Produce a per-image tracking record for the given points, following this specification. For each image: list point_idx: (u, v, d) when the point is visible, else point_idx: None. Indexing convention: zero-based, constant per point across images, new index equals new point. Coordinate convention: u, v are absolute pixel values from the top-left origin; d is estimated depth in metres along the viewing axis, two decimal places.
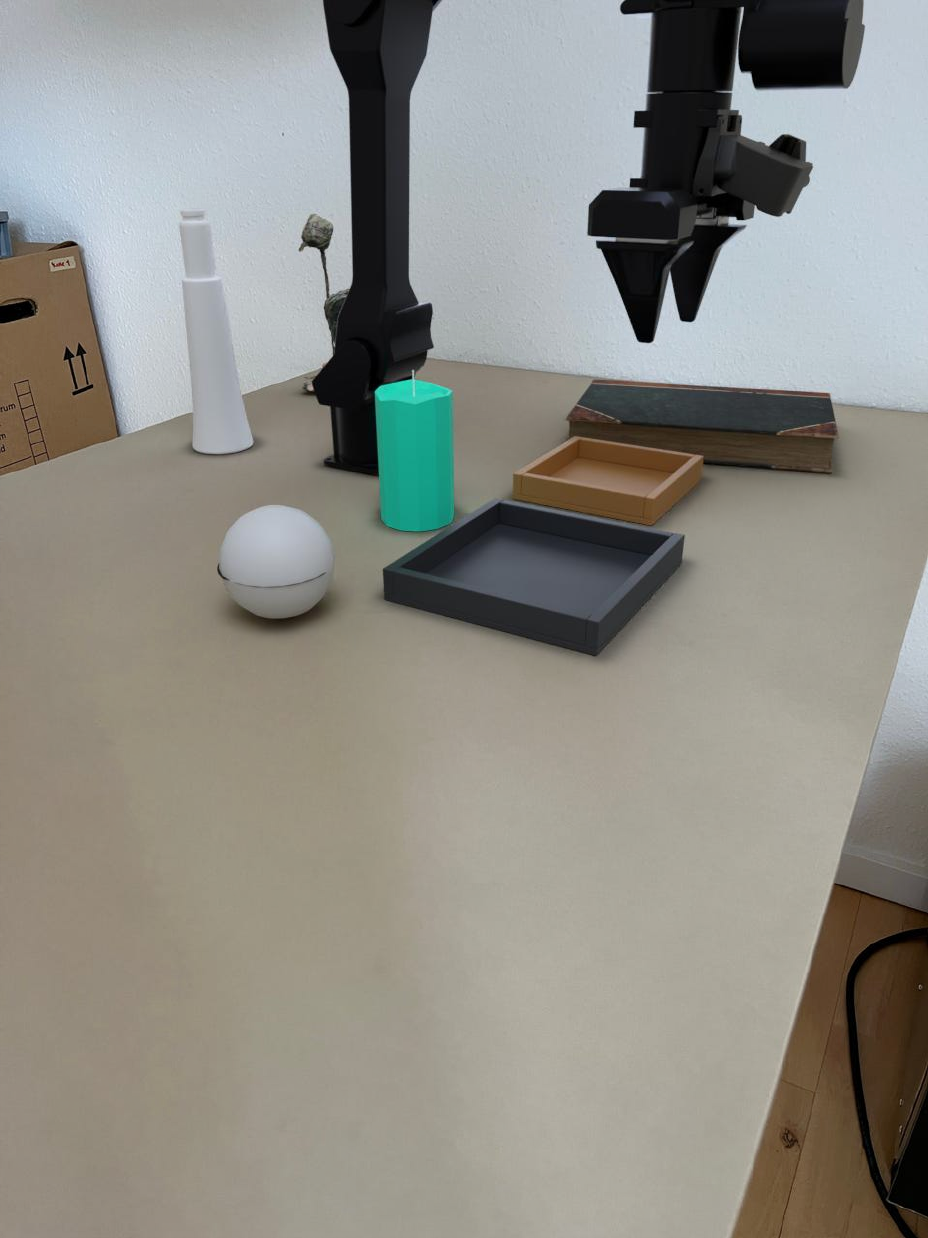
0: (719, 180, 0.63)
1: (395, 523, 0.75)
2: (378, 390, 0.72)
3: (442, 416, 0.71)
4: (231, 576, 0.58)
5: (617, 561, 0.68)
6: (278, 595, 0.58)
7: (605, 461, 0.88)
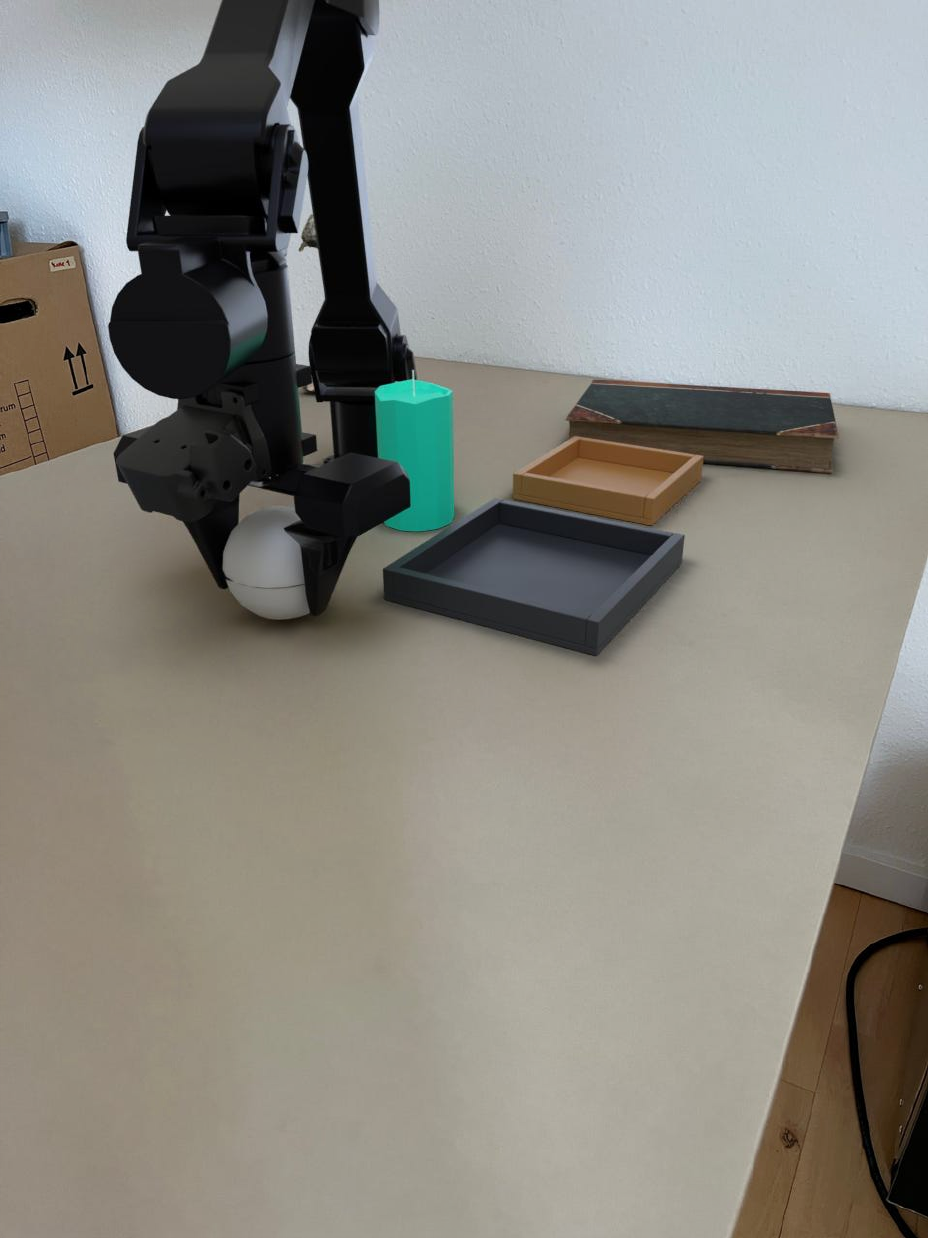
0: None
1: (395, 523, 0.75)
2: (378, 390, 0.72)
3: (442, 416, 0.71)
4: (235, 577, 0.58)
5: (617, 561, 0.68)
6: (282, 596, 0.57)
7: (605, 461, 0.88)
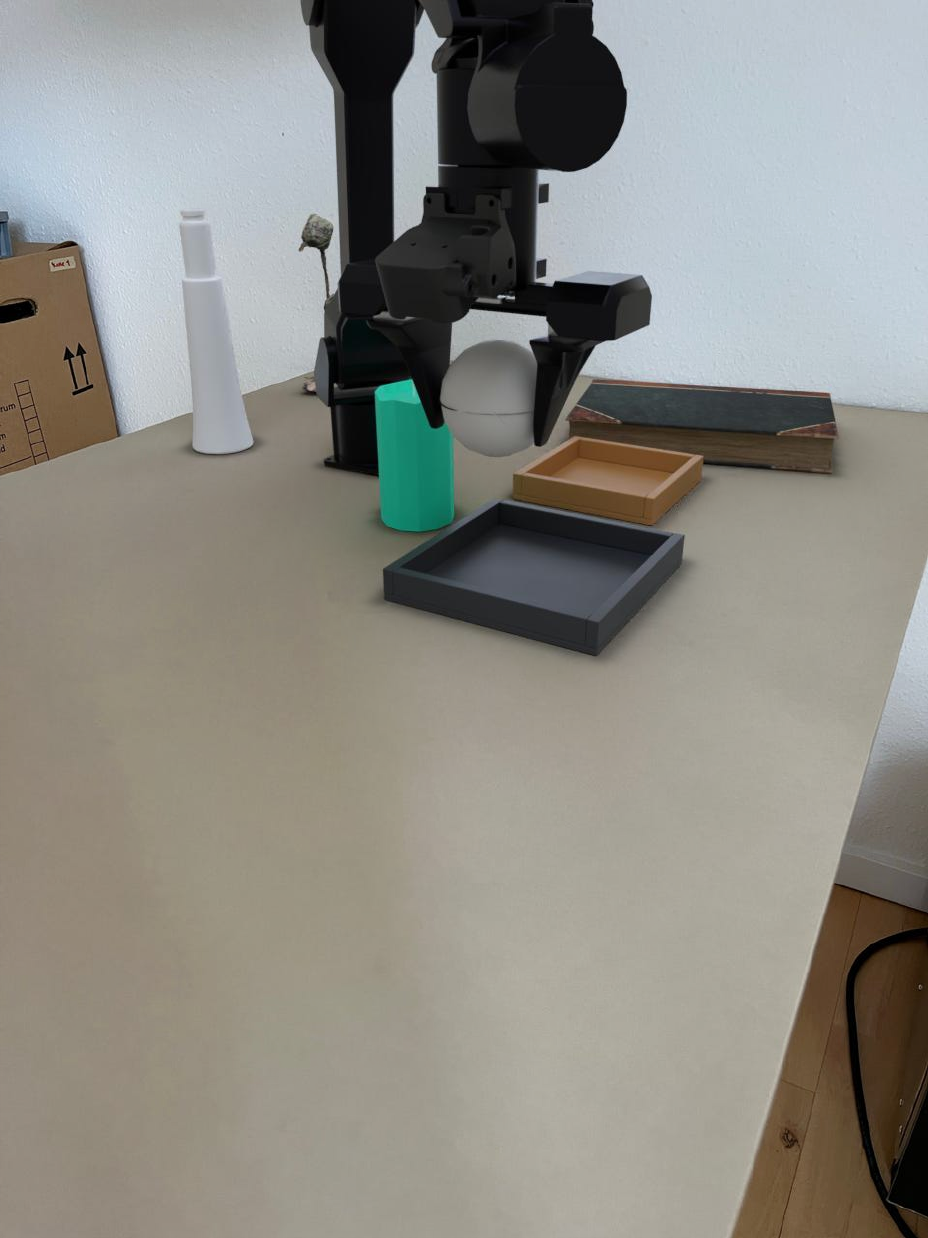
0: None
1: (395, 523, 0.75)
2: (378, 390, 0.72)
3: None
4: (460, 405, 0.57)
5: (617, 561, 0.68)
6: (508, 424, 0.57)
7: (605, 461, 0.88)
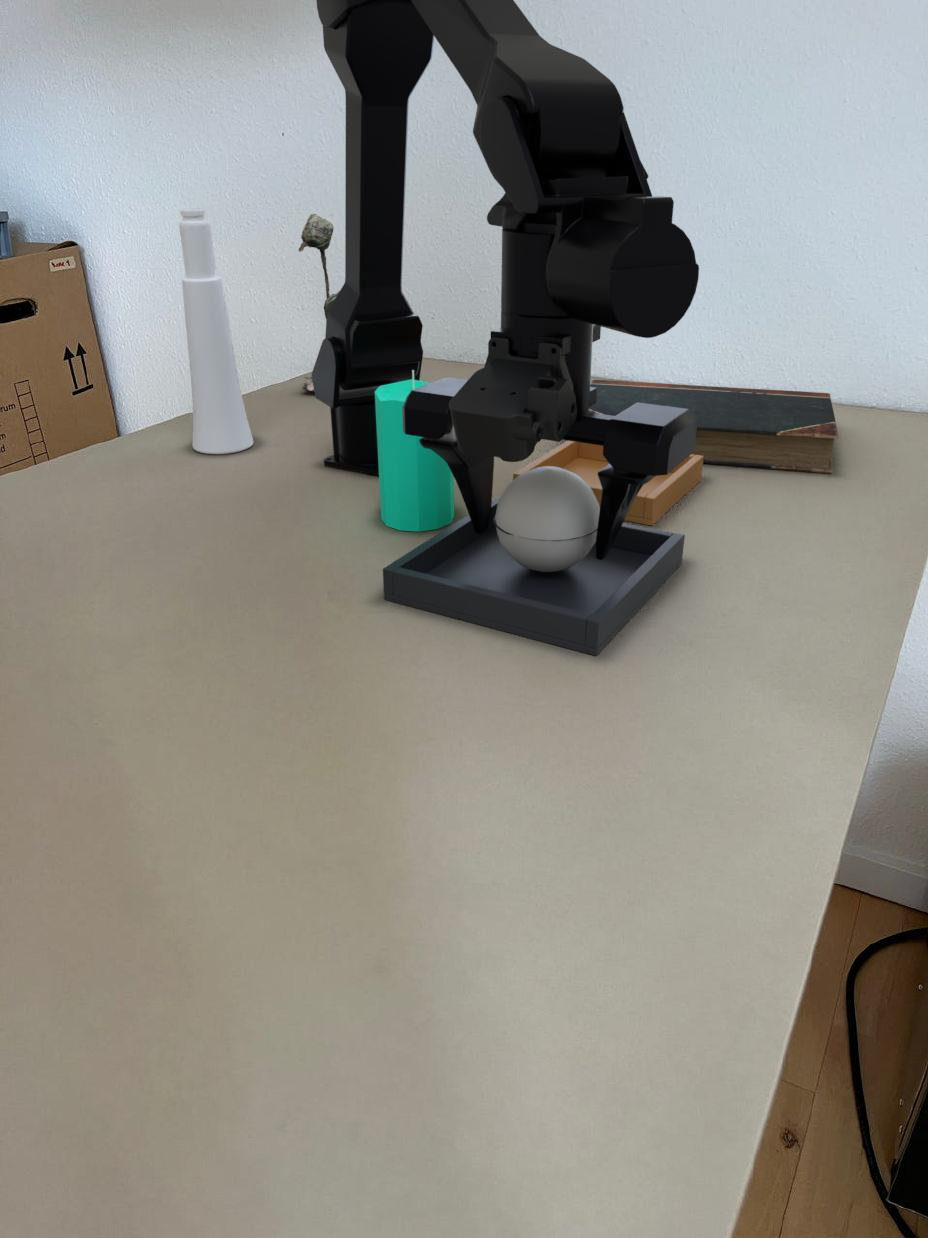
0: None
1: (395, 523, 0.75)
2: (378, 390, 0.72)
3: None
4: (516, 531, 0.63)
5: (617, 561, 0.68)
6: (561, 548, 0.62)
7: (605, 461, 0.88)
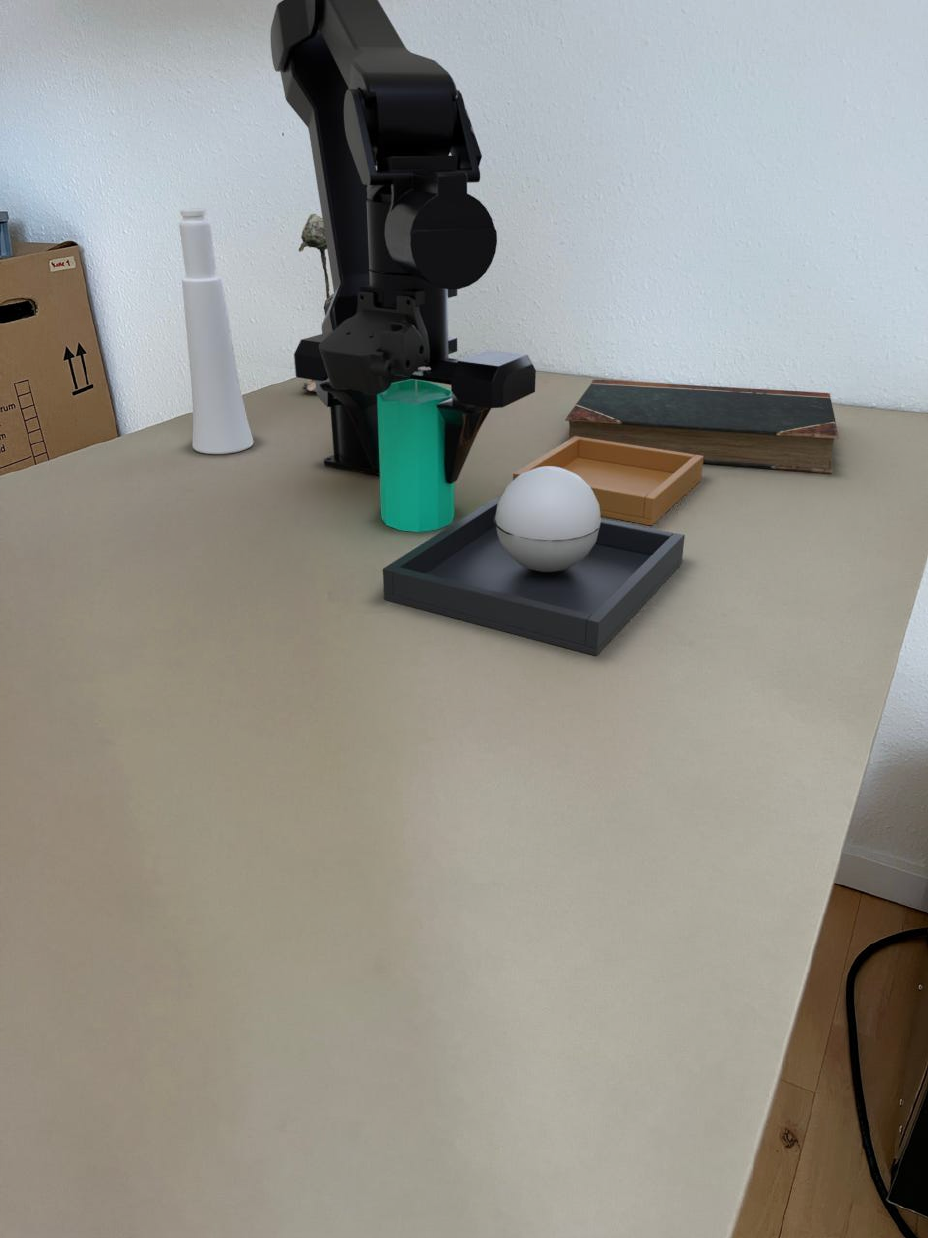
0: None
1: (395, 523, 0.75)
2: None
3: None
4: (516, 531, 0.63)
5: (617, 561, 0.68)
6: (561, 548, 0.62)
7: (605, 461, 0.88)
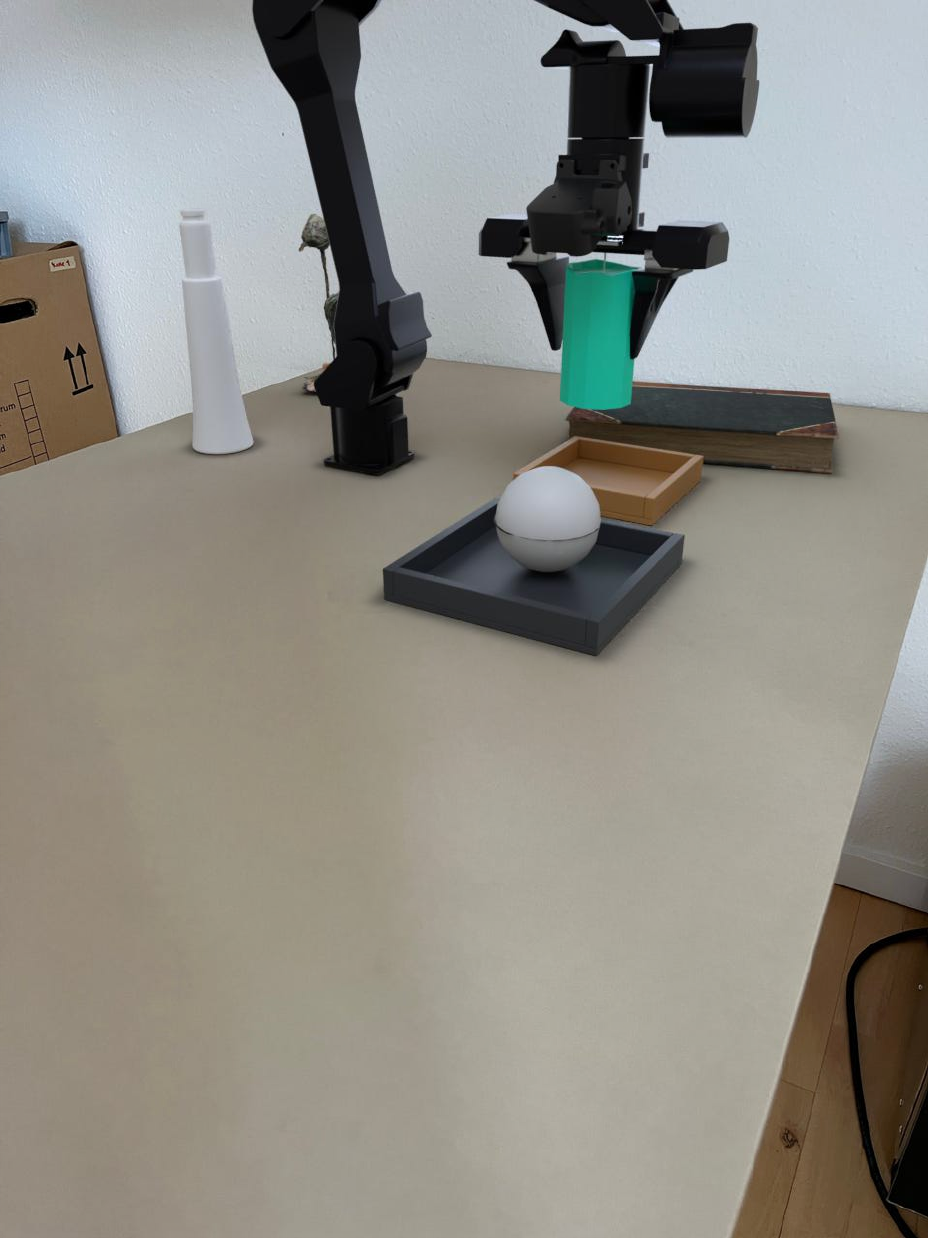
0: None
1: (578, 402, 0.75)
2: (569, 266, 0.73)
3: None
4: (516, 531, 0.63)
5: (617, 561, 0.68)
6: (561, 548, 0.62)
7: (605, 461, 0.88)
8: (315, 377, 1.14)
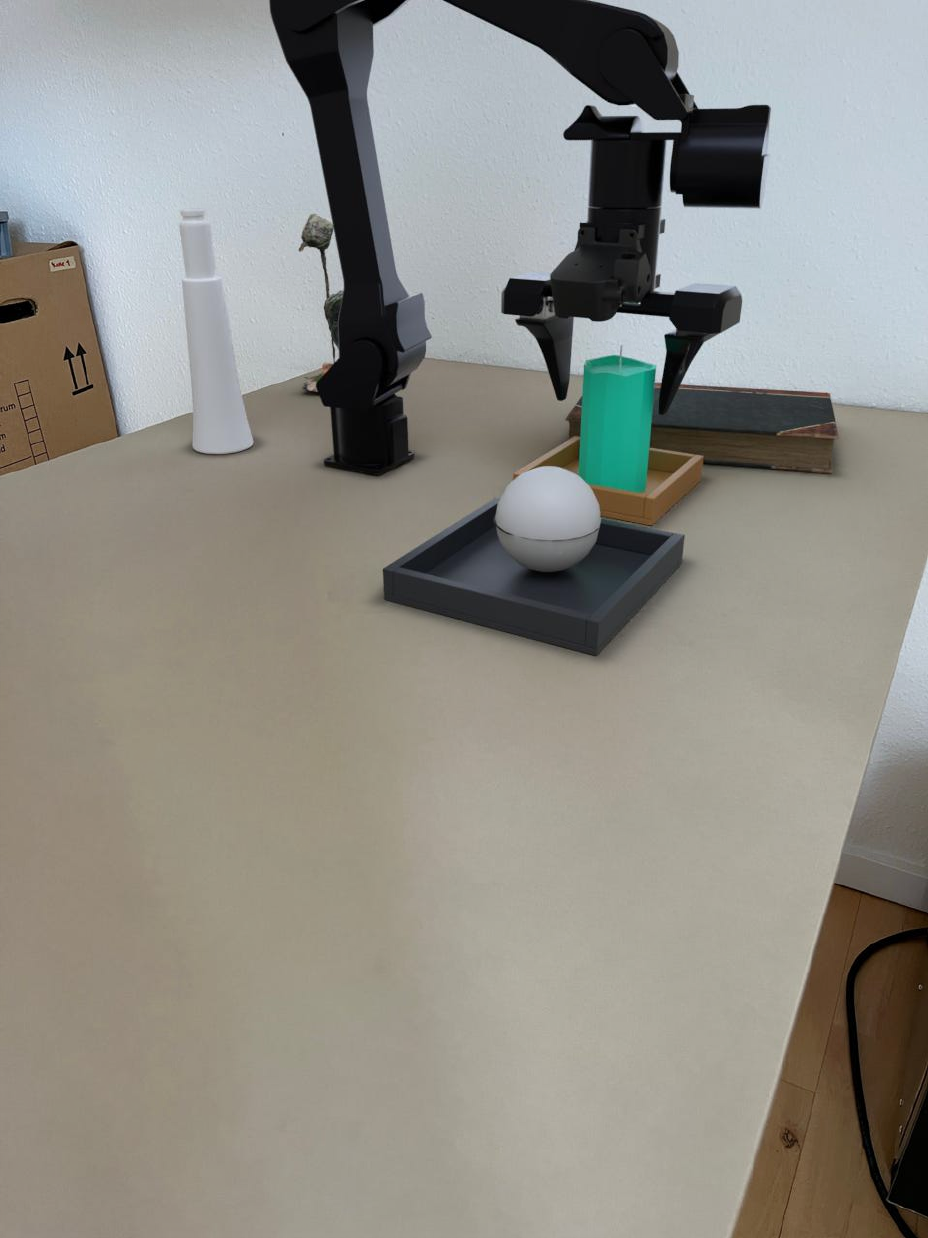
0: None
1: None
2: (586, 364, 0.78)
3: (648, 389, 0.76)
4: (516, 531, 0.63)
5: (617, 561, 0.68)
6: (561, 548, 0.62)
7: None
8: (315, 377, 1.14)
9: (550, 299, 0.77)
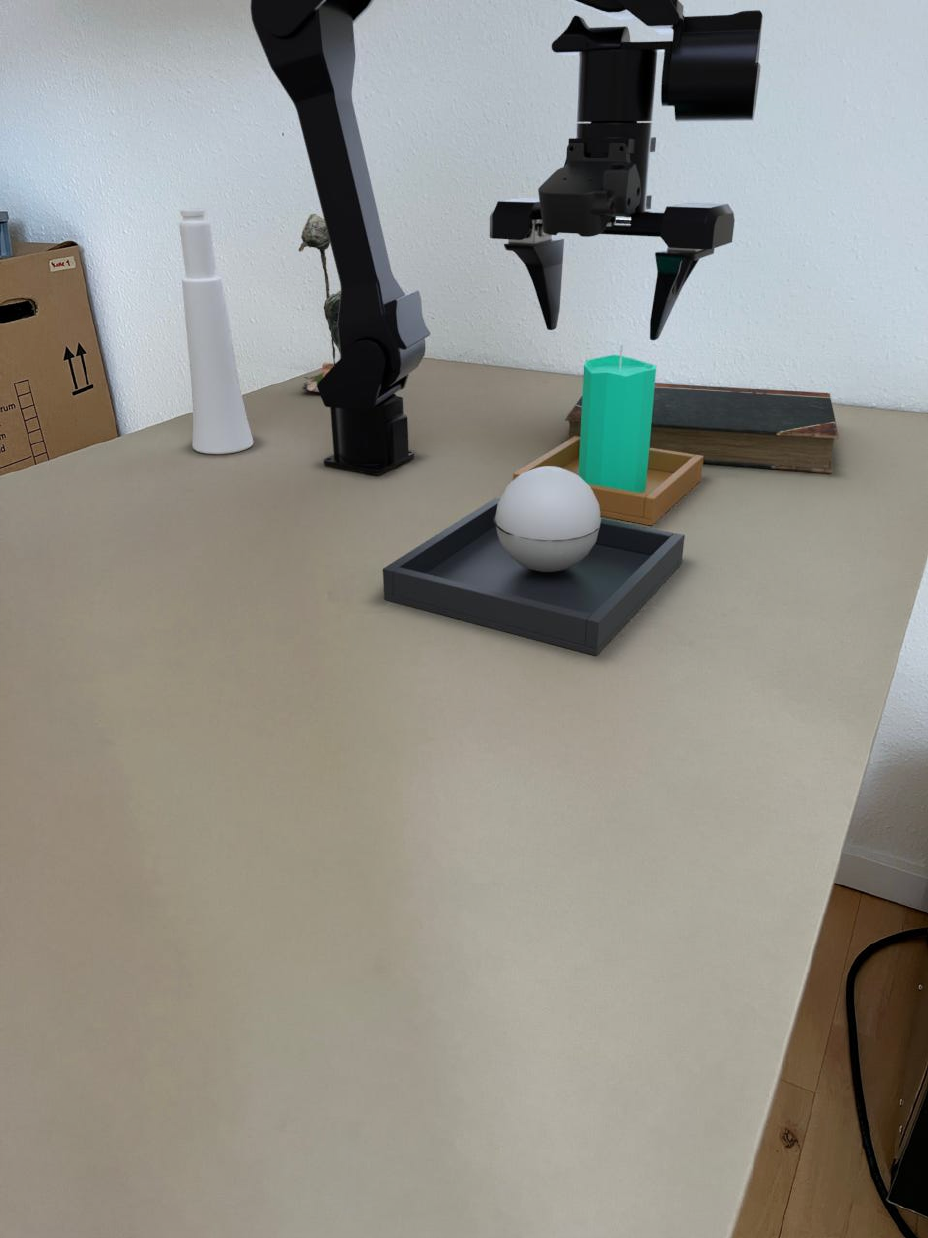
0: None
1: None
2: (586, 364, 0.78)
3: (648, 389, 0.76)
4: (516, 531, 0.63)
5: (617, 561, 0.68)
6: (561, 548, 0.62)
7: None
8: (315, 377, 1.14)
9: (539, 222, 0.75)
